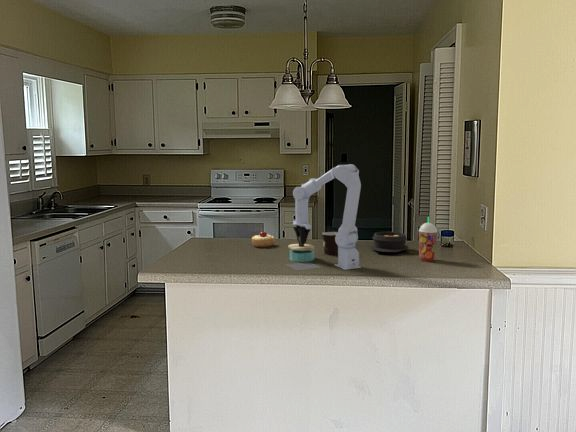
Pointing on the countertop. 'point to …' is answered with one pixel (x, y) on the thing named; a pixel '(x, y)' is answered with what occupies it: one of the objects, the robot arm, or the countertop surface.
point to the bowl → (301, 255)
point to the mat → (303, 266)
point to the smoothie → (427, 241)
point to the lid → (301, 246)
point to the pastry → (263, 240)
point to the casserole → (389, 242)
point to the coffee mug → (330, 243)
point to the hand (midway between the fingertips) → (301, 242)
